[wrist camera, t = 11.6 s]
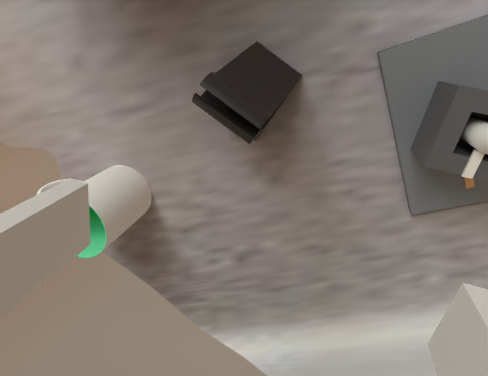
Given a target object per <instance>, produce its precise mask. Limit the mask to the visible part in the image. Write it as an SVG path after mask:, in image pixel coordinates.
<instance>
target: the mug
mask: <svg viewBox="0 0 488 376" xmlns="http://www.w3.org/2000/svg"><path fill="white" fill-rule="evenodd" d="M65 180H67V179H62V180H57V181H53V182H51V183H48V184H46V185H44V186H43V187H42V188H40V189H39V191H38V192H37V195H38V194H40V193H42V192H44V191H46V190H48V189H50V188H52V187H53V186H55V185H57V184H59V183H61V182H63V181H65ZM74 180H75V179H74ZM78 181H80V180H78ZM82 182H86V183H88V196H89V217H90V239H91V244H90V245H89V246H88V247H87V248H86V249H84V250H83V251H82V252H81V253H80V254H78V255H77V257H80V258H91V257H95V256H97V255H98V254H100V253H101V252H102V251H103V250H104V249H105V248H107V247H108V246H109V245H110V244H111V243H112V242H113V241H114V240H116V239H117V238H118V237H119V236H120V235H121V234H122V233H123V232H125V231H126V230H127V229H128V228H129V227H130V226H131V225H132V224H134V223H135V222H136V221H137V220H138V219H139V218H140V217H141V216H143V215H144V214H145V213H146V212H147V211H148V209H149V208H150V205H151V200H152V196H151V190H150V187H149V185H148V183H147V182H146V180H145V179H144V177H143V176H142V175H141V174H140V173H138V172H137V171H136V170H134V169H132V168H130V167H128V166H124V165H115V166H112V167H110V168H108V169H106V170H104V171H102V172H100V173H98V174H97V175H95V176H93V177H91V178H89V179H87V180H85V181H82Z"/></svg>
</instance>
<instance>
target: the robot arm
mask: <svg viewBox="0 0 488 376" xmlns="http://www.w3.org/2000/svg"><path fill="white" fill-rule="evenodd" d="M90 244H91V239H90V217H89V196H88V183H86V182H82V181H78V180H74V179H71V178H69V179H67V180H65V181H63V182H61V183H59V184H57V185H55V186H53V187H52V188H50V189H48V190H46V191H44V192H42V193H40V194H38V195H36V196H34V197H32V198H30V199H28V200H26V201H24V202H22V203H20V204H19V205H17V206H15V207H13V208H11V209H9V210H7V211H5V212H3V213H1V214H0V320H1V319H2V318H3V317H4V316H5V315H6V314H8V313H9V312H10V311H11V310H13V309H14V308H15V307H16V306H17V305H19V304H20V303H21V302H22V301H23V300H25V299H26V298H27V297H28V296H29V295H31V294H32V293H33V292H34V291H35V290H36V289H38V288H39V287H40V286H41V285H43V284H44V283H45V282H46V281H47V280H48V279H50V278H51V277H52V276H53V275H54V274H56V273H57V272H58V271H59V270H60V269H62V268H63V267H64V266H65V265H66V264H68V263H69V262H70V261H71V260H72V259H74V258H75V257H76V256H77V255H78V254H80V253H81V252H82V251H83V250H84V249H86V248H87V247H88V246H89V245H90ZM428 346H429V349H430V352H431V355H432V358H433V361H434V364H435V367H436V370H437V373H438V376H488V290H487V289H484V288H480V287H476V286H472V285H469V284H465V283H462V285H461V287H460V289H459V290H458V292H457V294H456V296H455V297H454V299H453V301H452V303H451V304H450V306H449V308H448V310H447V311H446V313H445V315H444V317H443V318H442V320H441V322H440V324H439V325H438V327H437V329H436V331H435V332H434V334H433V336H432V338H431V339H430V341H429V343H428Z"/></svg>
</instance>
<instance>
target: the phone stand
mask: <svg viewBox="0 0 488 376" xmlns="http://www.w3.org/2000/svg"><path fill="white" fill-rule="evenodd" d="M301 76H302V75H301V74H300V73H298V72H297V71H296V70H294V69H293V68H292V67H290V66H289V65H288V64H286V63H285V62H284V61H282V60H281V59H280V58H278V57H277V56H276V55H274V54H273V53H272V52H270V51H269V50H268V49H266V48H265V47H264V46H262V45H261V44H260V43H258V42H255V43H254V44H253V45H251V46H250V47H249V48H248V49H246V50H245V51H244V52H242V53H241V54H240V55H239V56H237V57H236V58H235V59H233V60H232V61H231V62H229V63H228V64H227V65H226V66H224V67H223V68H222V69H220V70H219V71H218V72H215V73H213V72H211V73H210V74H208V75H207V76H206V77H205V78H204V80H203V81H202V82H201V83H200V85H201V86H202V87H203V88H205V89H206V91H205V92H204V93H203V94H202V95H201V96H199V95H198V94H196V93H195V94H194V96H193V99H192V102H193V103H194V104H196V105H197V106H198V107H200V108H201V109H202V110H204V111H205V112H207V113H208V114H209V115H211V116H212V117H213V118H215V119H216V120H217V121H219V122H220V123H222V124H223V125H224V126H226V127H227V128H228V129H230V130H231V131H232V132H234V133H235V134H236V135H238V136H239V137H241V138H242V139H243V140H245V141H246V142H247V143H249V144H250V143H251V142H252V140H254V141H255V140H256V139H257V137H258V136H259V135H260V133H261V132H262V130H263V129H264V128H265V126H266V125H267V123H268V122H269V121H270V119H271V118H272V116H273V115H274V114H275V112H276V111H277V109H278V108H279V107H280V105H281V104H282V102H283V101H284V100H285V98H286V97H287V95H288V94H289V93H290V91H291V90H292V88H293V87H294V86H295V84H296V83H297V81H298V80H299V79H300V77H301Z"/></svg>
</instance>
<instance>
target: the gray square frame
mask: <svg viewBox="0 0 488 376" xmlns="http://www.w3.org/2000/svg"><path fill="white" fill-rule="evenodd" d="M472 112H476V113H481V114H485V115H486V117H485V119H484V121H486V122H488V91H487V90H482V89H477V88H472V87H467V86H462V85H457V84H452V83H448V82H443V81H438V82H437V85H436V87H435V90H434V92H433V95H432V97H431V100H430V102H429V105H428V107H427V110H426V112H425V114H424V117H423V119H422V122H421V124H420V127H419V129H418V132H417V134H416V137H415V139H414V142H413V144H412V147H411V151H412V152H413V153H414V154H415V156H416V157H417V158H418V159H419V161H420V162H421V163H422V164H423V166H424V167H428V168H433V169H437V170H441V171H445V172H449V173H453V174H457V175H461V176H462V177H466V178H470V179H472V178H474V179H478V180H482V181H486V182H488V154H484V153H481V152H480V151H478V150H477V149H475V148H474V147H473V146H469V145H465V144H460V143H458V141H459V138H460V136H461V134H462V132H463V130H464V128H465V125H466V123H467V121H468V119H469V117H470V115H471V113H472Z"/></svg>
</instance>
